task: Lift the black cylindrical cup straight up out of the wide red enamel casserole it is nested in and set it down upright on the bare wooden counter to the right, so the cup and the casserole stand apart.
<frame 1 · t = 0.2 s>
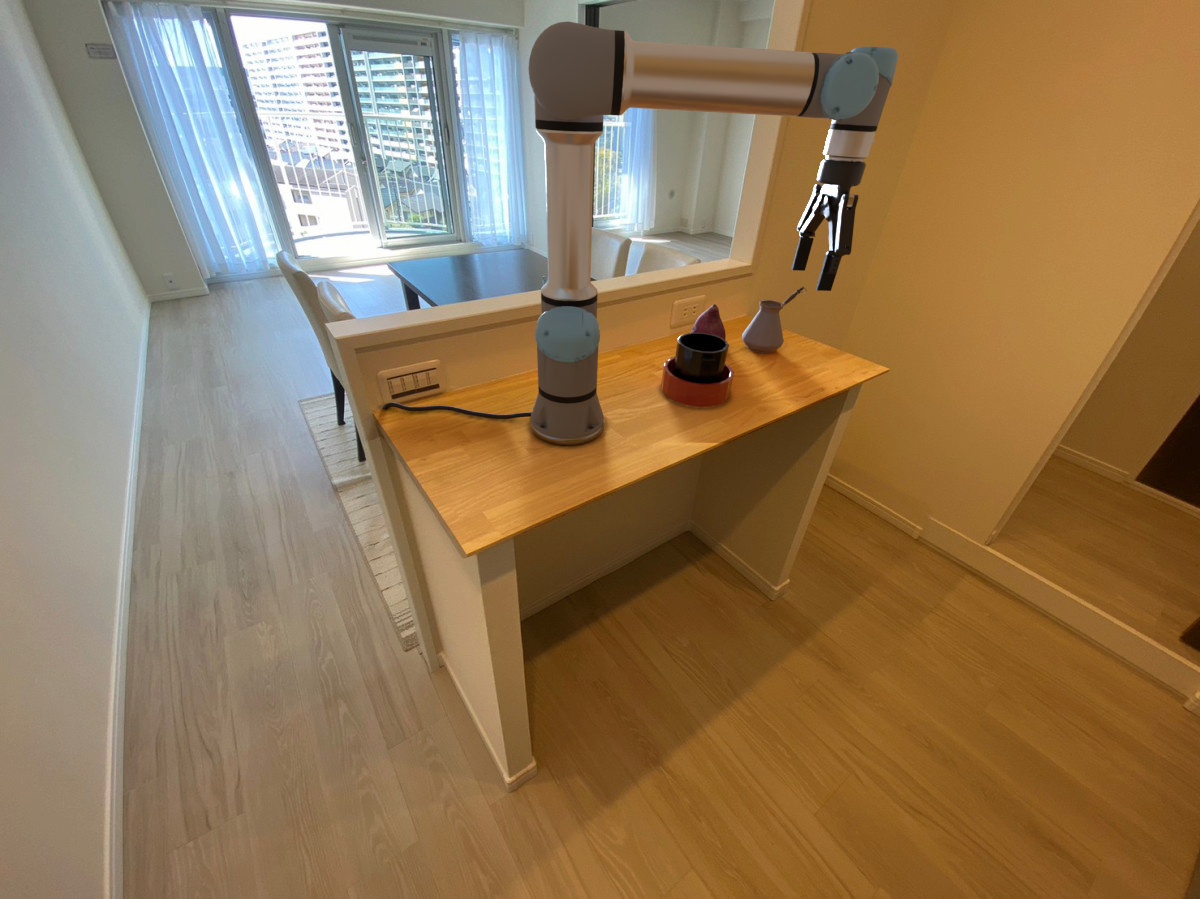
hand: (809, 279, 100), 28 cm above the table, tool pointing down, fingers open, 13 cm apart
black cylindrical cup: (694, 389, 117), point 1 cm above the table, touching casserole
vegetable: (705, 348, 139), on the table
casserole: (694, 391, 117), on the table
coffee pot: (770, 344, 143), on the table
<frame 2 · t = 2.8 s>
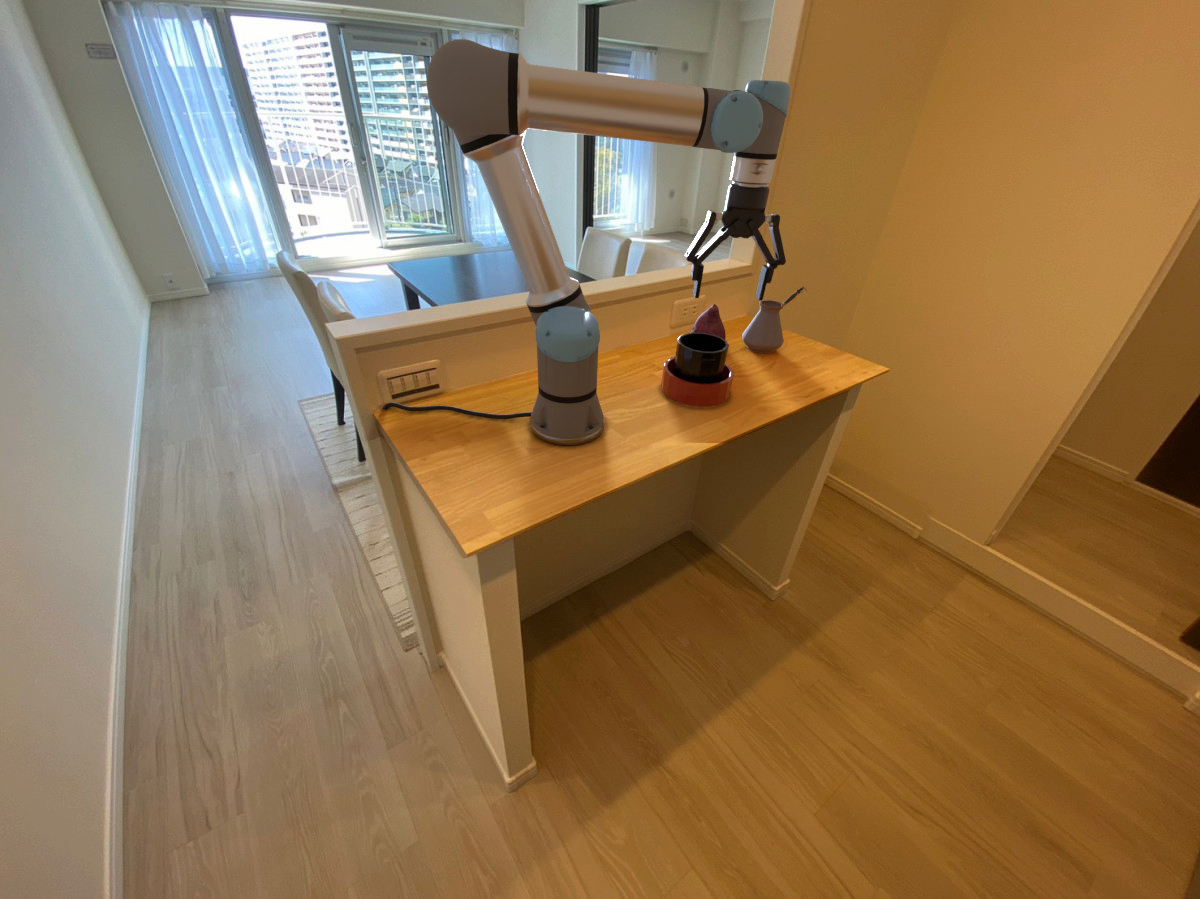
hand: (727, 297, 104), 23 cm above the table, tool pointing down, fingers open, 13 cm apart
nothing on the table moved.
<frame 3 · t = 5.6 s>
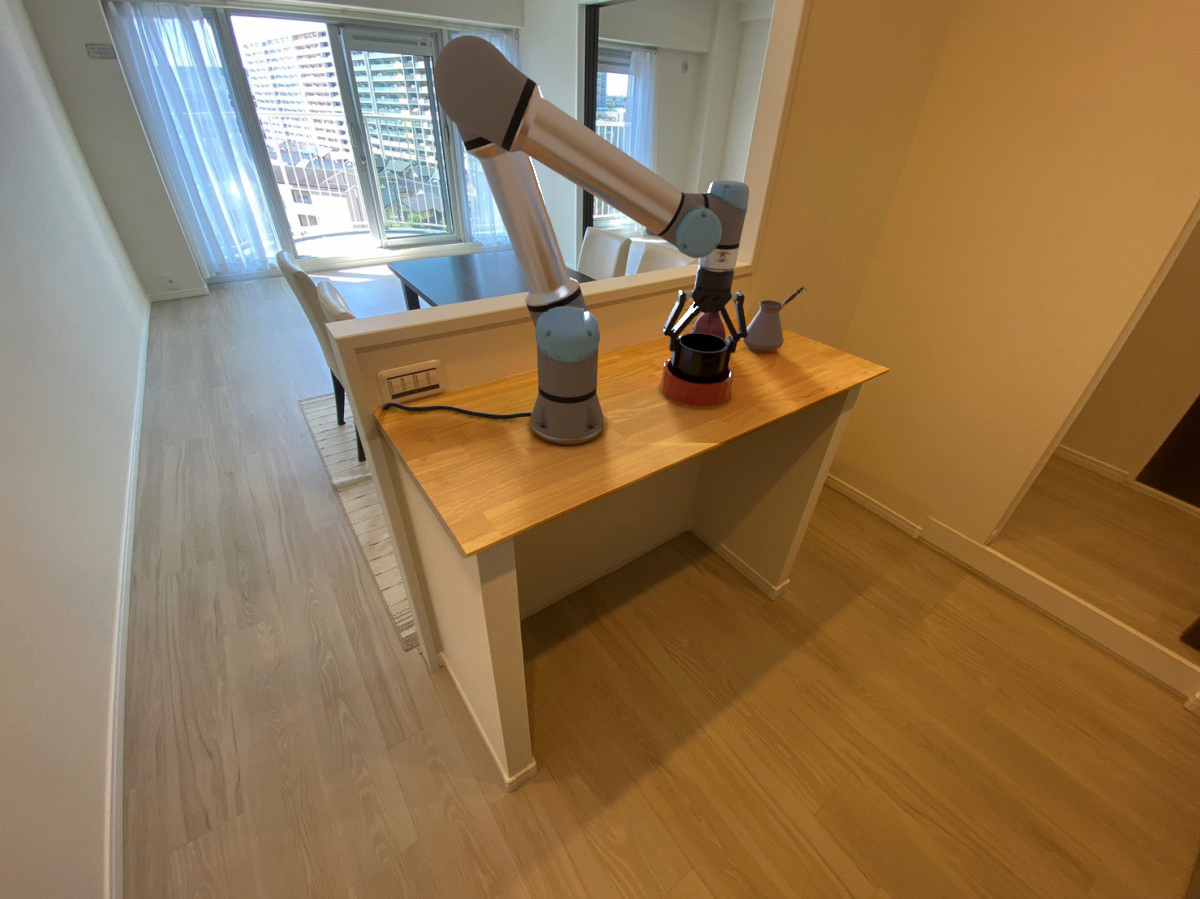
hand: (699, 364, 113), 7 cm above the table, tool pointing down, fingers closed on black cylindrical cup, 11 cm apart
black cylindrical cup: (694, 389, 117), point 1 cm above the table, touching casserole, gripper
everything else where it was.
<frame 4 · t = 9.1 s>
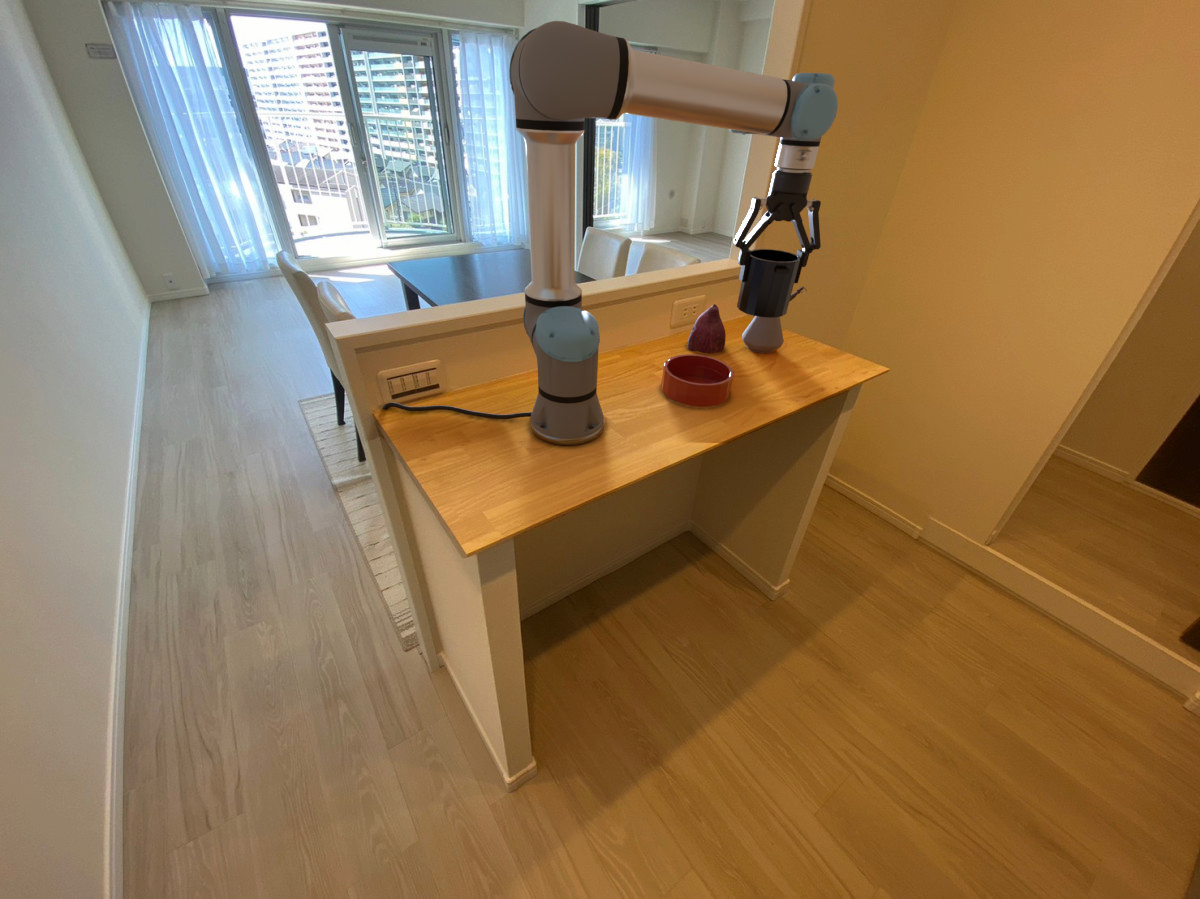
hand: (768, 280, 111), 24 cm above the table, tool pointing down, fingers closed on black cylindrical cup, 11 cm apart
black cylindrical cup: (761, 308, 115), point 18 cm above the table, touching gripper
everything else where it was.
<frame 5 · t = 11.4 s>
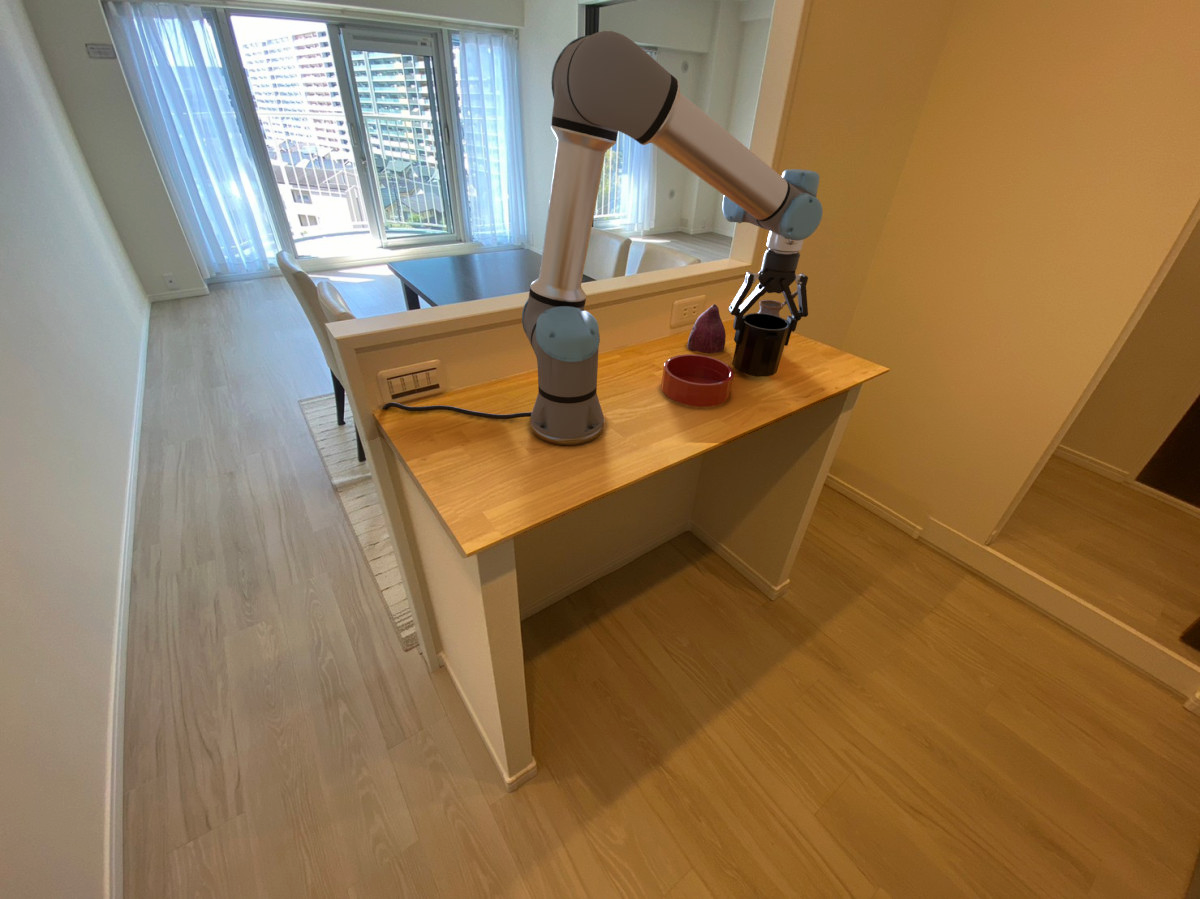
hand: (760, 342, 121), 9 cm above the table, tool pointing down, fingers closed on black cylindrical cup, 11 cm apart
black cylindrical cup: (754, 366, 125), point 2 cm above the table, touching gripper
everything else where it was.
when the fingers open (6 cm above the table, at t = 12.8 s): black cylindrical cup stays where it is, on the table.
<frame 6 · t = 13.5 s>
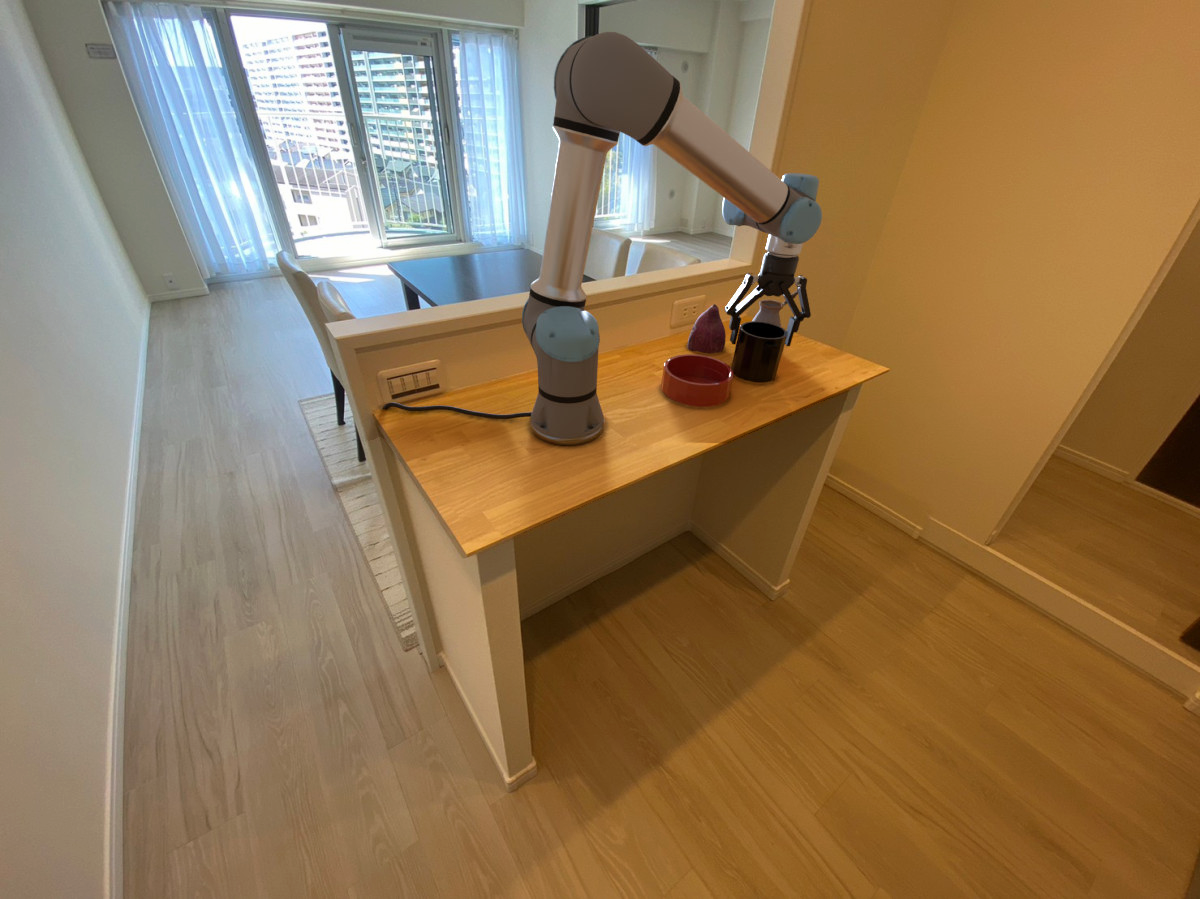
hand: (759, 343, 121), 9 cm above the table, tool pointing down, fingers open, 13 cm apart
black cylindrical cup: (752, 374, 126), on the table
everything else where it was.
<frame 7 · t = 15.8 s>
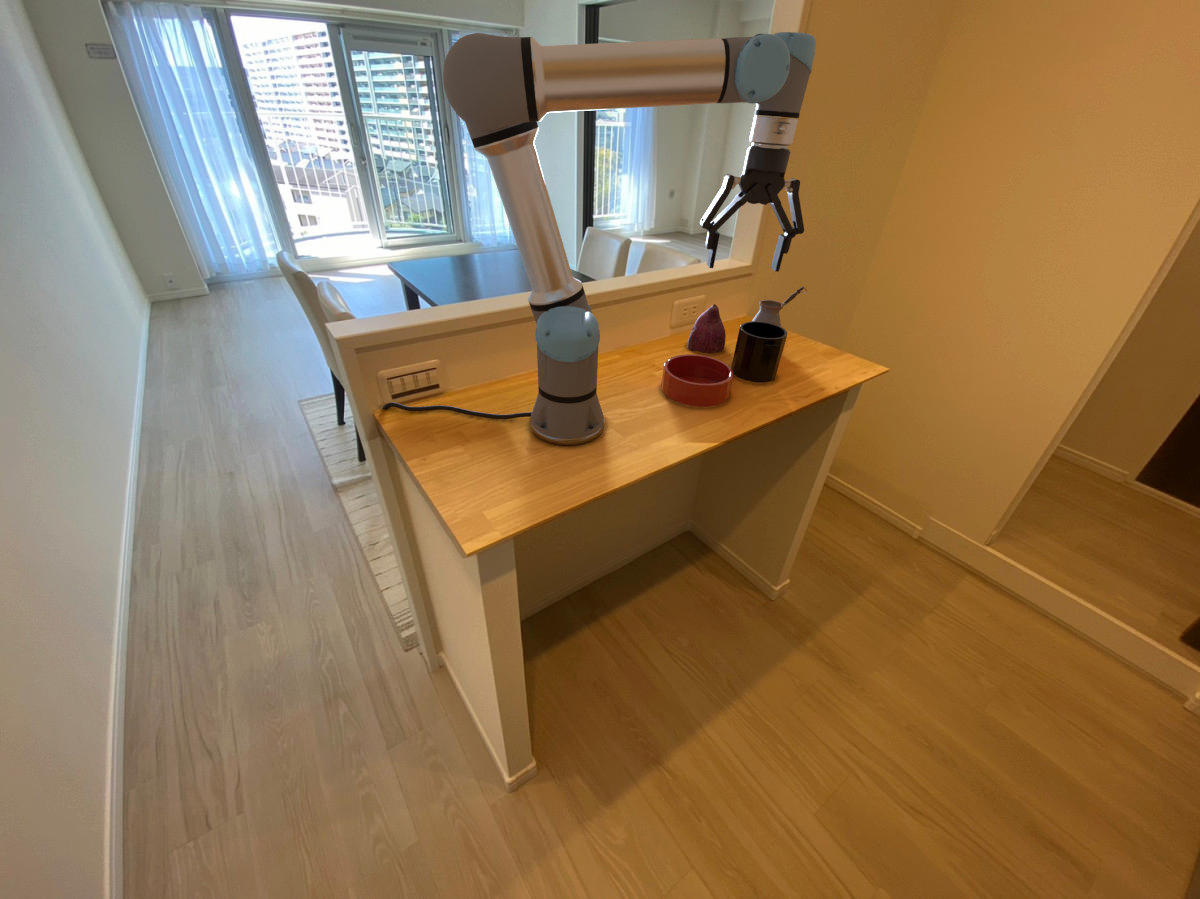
hand: (742, 268, 100), 29 cm above the table, tool pointing down, fingers open, 13 cm apart
nothing on the table moved.
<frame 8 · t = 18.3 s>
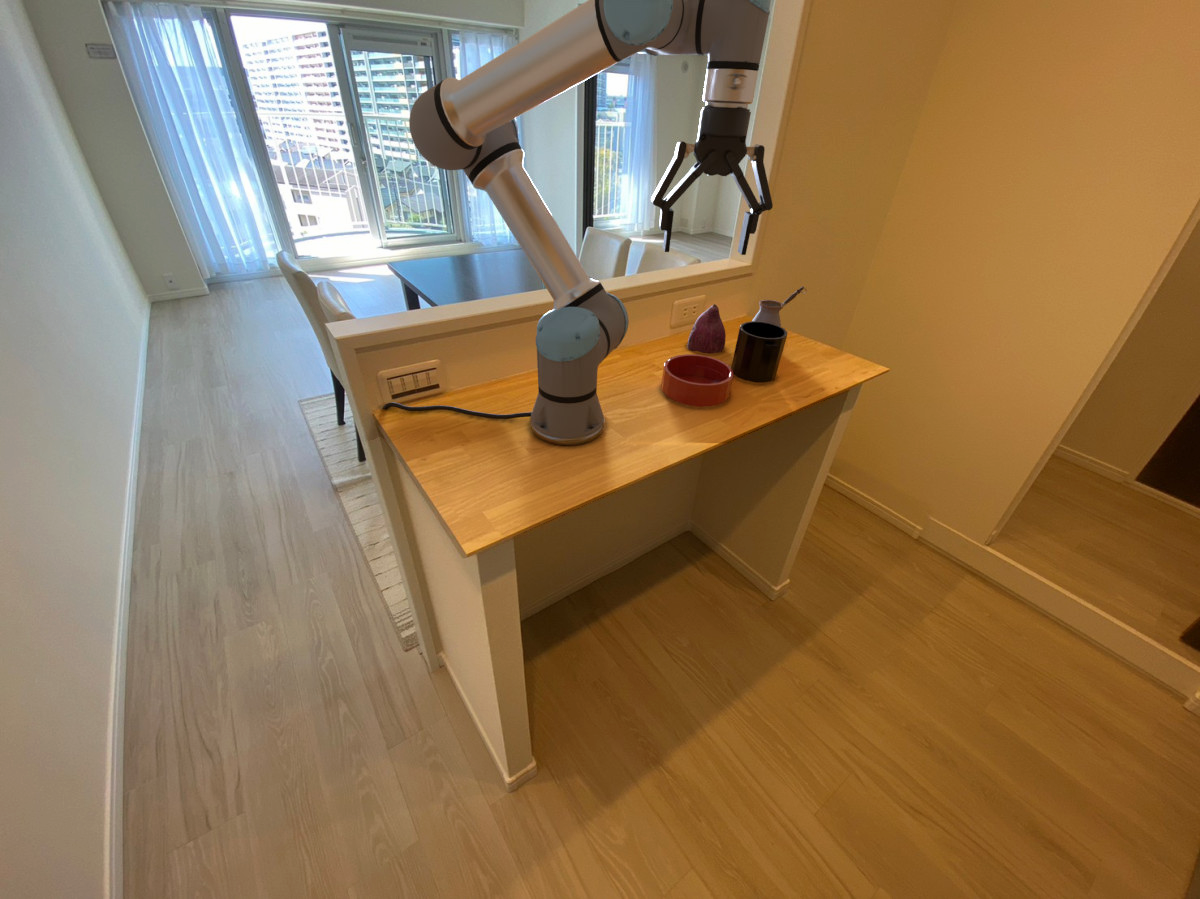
hand: (703, 251, 87), 35 cm above the table, tool pointing down, fingers open, 13 cm apart
nothing on the table moved.
at the end: black cylindrical cup inside the target area (0.0 cm from its centre), on the table; black cylindrical cup tilted 0°; black cylindrical cup touching table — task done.
